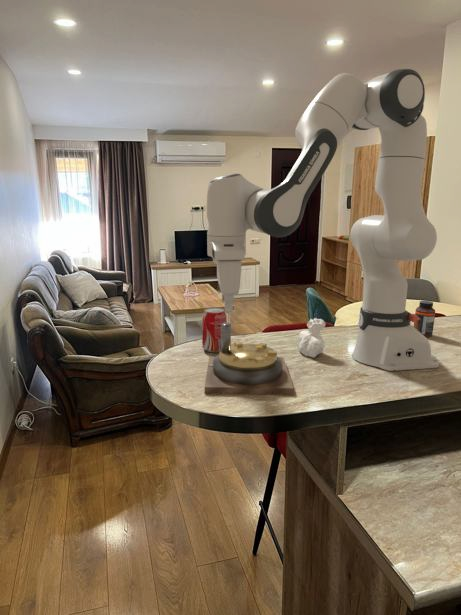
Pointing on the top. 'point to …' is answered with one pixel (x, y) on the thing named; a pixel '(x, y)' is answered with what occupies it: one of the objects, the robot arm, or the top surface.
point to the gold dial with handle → (244, 353)
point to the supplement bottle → (425, 318)
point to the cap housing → (247, 379)
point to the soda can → (212, 329)
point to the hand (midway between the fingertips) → (227, 306)
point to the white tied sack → (311, 338)
